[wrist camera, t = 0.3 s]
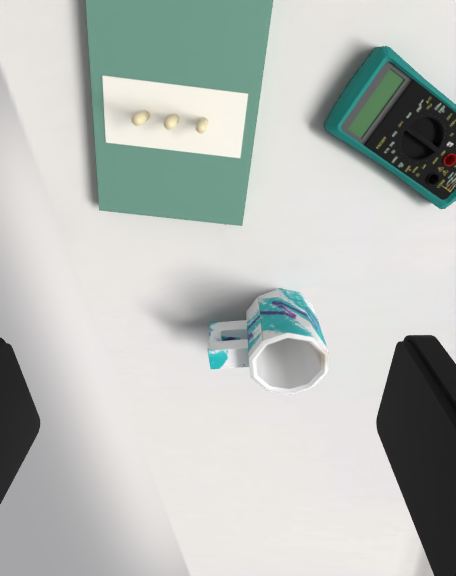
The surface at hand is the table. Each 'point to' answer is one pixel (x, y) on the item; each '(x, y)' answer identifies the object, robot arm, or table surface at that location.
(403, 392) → the robot arm
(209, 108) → the header board
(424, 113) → the digital multimeter
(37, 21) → the table surface
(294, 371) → the mug
